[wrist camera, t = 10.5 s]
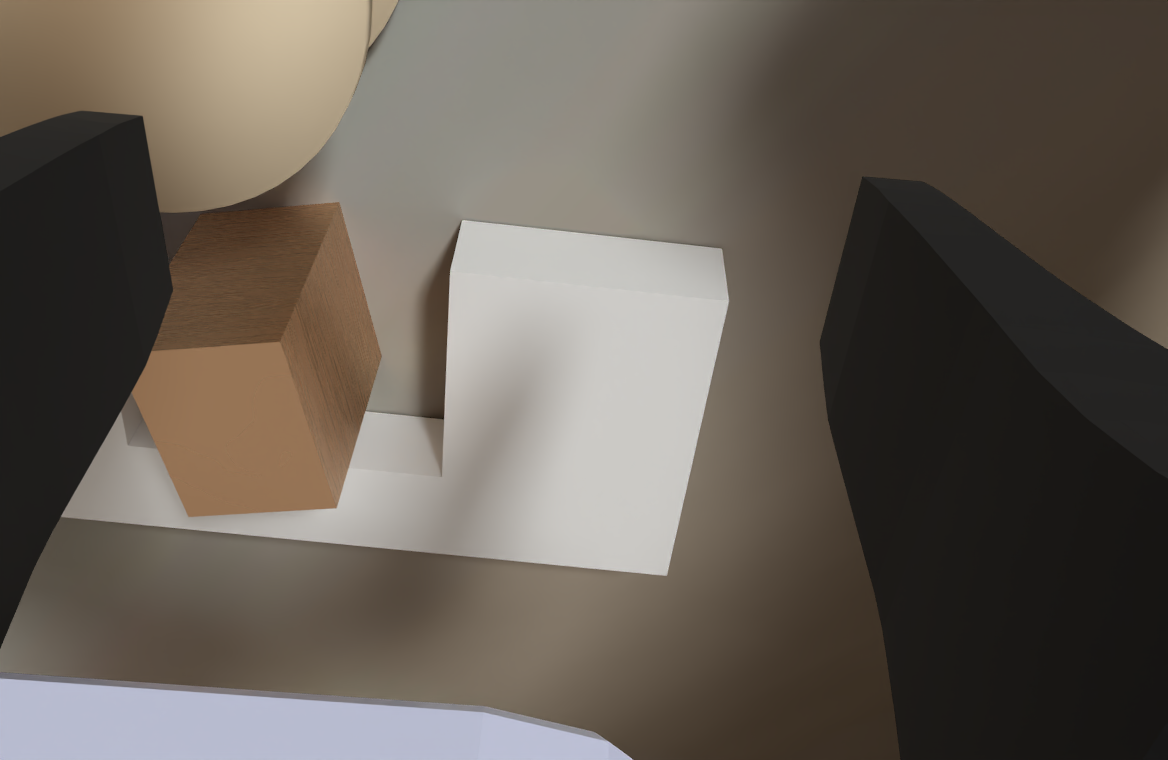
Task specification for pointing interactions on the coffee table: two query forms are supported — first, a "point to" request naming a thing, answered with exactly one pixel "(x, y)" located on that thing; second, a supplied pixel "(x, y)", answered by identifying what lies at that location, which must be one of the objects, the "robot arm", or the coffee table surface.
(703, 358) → the board
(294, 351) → the block
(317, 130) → the bobbin
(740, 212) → the coffee table surface
